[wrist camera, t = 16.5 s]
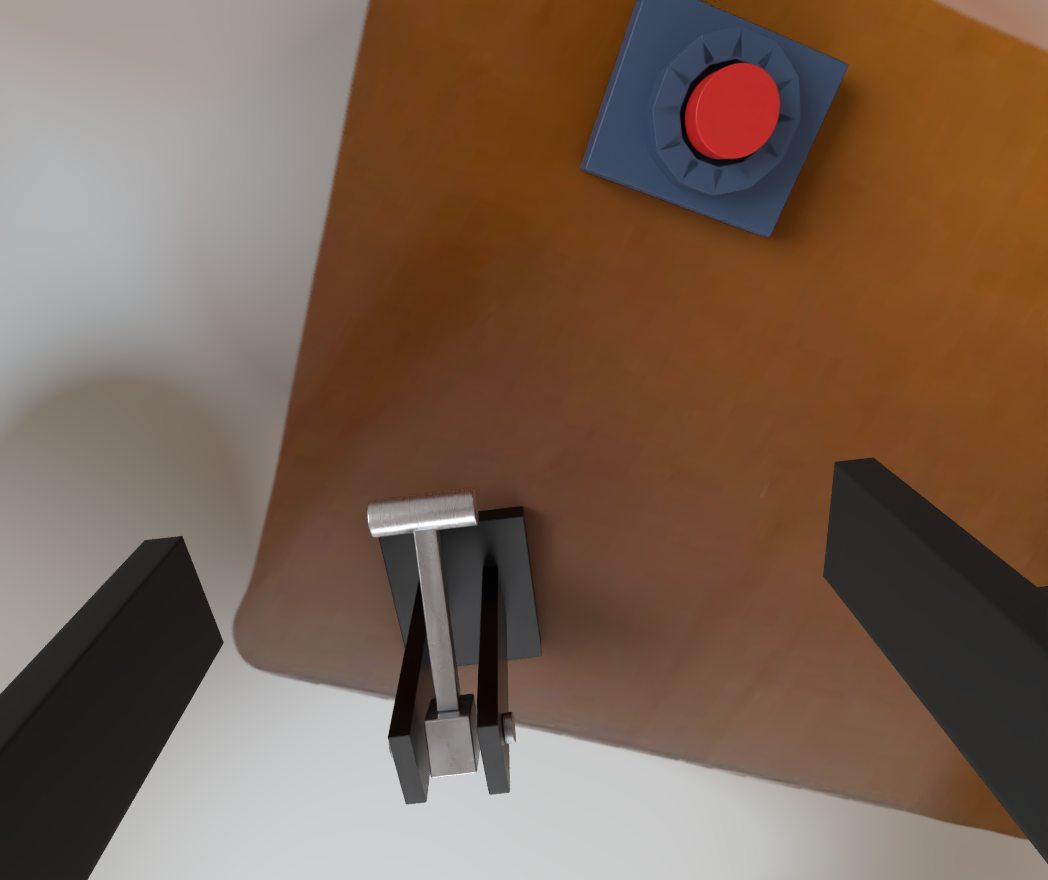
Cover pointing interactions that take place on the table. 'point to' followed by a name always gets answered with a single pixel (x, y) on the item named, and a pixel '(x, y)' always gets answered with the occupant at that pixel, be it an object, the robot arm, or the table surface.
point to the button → (732, 111)
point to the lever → (437, 619)
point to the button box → (660, 103)
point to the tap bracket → (464, 638)
